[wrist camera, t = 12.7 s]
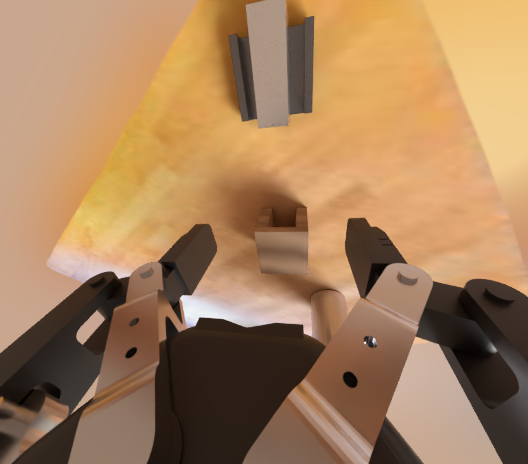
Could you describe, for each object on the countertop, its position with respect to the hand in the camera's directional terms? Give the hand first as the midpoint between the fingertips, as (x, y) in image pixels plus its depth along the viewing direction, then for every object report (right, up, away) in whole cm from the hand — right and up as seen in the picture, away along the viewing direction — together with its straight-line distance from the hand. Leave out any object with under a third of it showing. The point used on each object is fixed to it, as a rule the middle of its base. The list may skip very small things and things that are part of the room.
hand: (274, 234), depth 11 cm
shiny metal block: (+1, +21, +15) cm, 26 cm away
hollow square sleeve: (+4, +1, +30) cm, 30 cm away
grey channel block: (+1, +22, +15) cm, 27 cm away
